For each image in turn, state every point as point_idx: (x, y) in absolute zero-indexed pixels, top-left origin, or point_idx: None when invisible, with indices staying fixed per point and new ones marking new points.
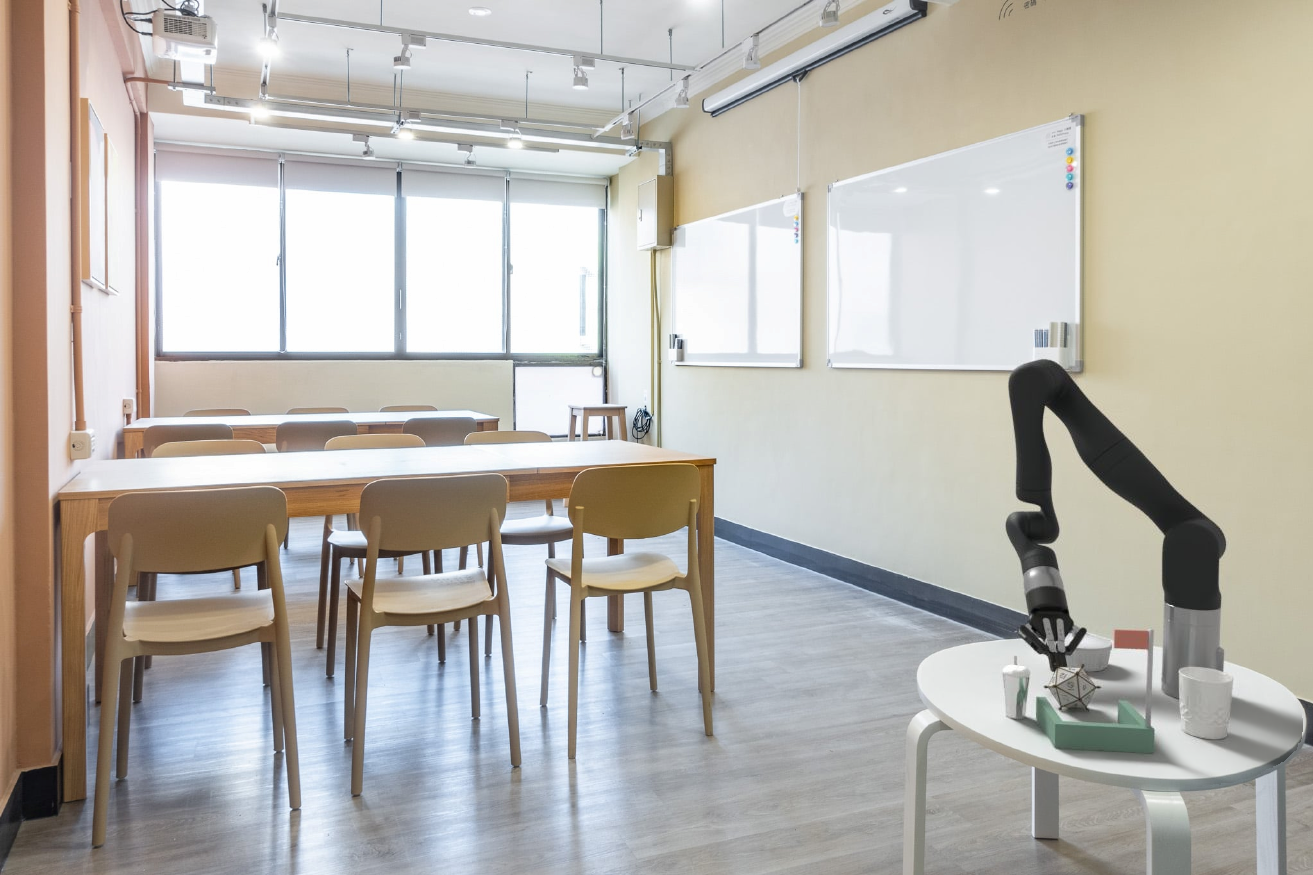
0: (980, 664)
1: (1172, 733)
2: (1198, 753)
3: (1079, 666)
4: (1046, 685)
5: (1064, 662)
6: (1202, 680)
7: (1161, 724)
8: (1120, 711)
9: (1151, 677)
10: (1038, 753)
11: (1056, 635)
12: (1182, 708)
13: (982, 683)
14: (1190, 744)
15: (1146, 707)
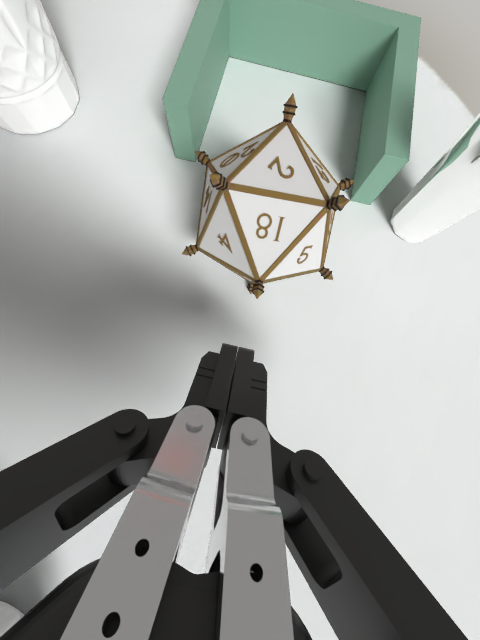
0: None
1: (110, 102)
2: (131, 28)
3: (9, 620)
4: (324, 273)
5: (206, 374)
6: None
7: (97, 143)
8: (195, 114)
9: None
10: (420, 70)
11: (174, 572)
12: (46, 34)
13: (433, 471)
14: (115, 58)
15: None
